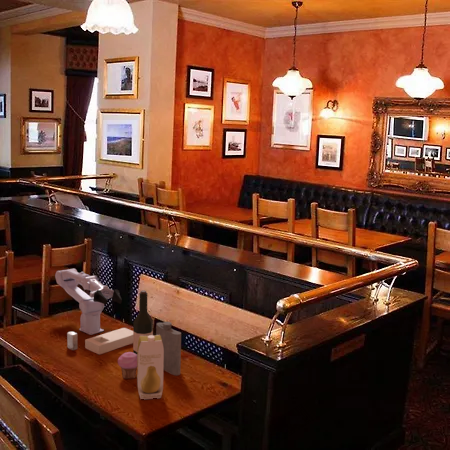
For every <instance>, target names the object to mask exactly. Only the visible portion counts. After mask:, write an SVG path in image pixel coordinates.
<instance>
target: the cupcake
mask: <svg viewBox="0 0 450 450" xmlns="http://www.w3.org/2000/svg"><path fill="white" fill-rule="evenodd" d="M117 365H118V366H119V367H120V369H121V375H122V378H123V379H127V380H128V379H135V378H137V354H135V353H133V351H128V352H127V351H126V352H124V353H122V354H121V355H120V356H119V357H118V359H117Z"/></svg>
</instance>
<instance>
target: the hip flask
mask: <svg viewBox="0 0 450 450" xmlns="http://www.w3.org/2000/svg"><path fill="white" fill-rule="evenodd" d="M155 325H156V326H155V327H156V328H155V329H156V330H155V332H156V333H155V335H160V336H161V339H162V341H163V348H164V362H163V371H164V372H166V373H169V374H170V375H173V376H180V375H181V359H182V356H181V353H182V352H181V351H182V332H181V331H177V330H175V329H173V328H172V325H173V324H172V322H171V321H163V322H156V324H155Z"/></svg>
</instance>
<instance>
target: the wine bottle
mask: <svg viewBox="0 0 450 450" xmlns="http://www.w3.org/2000/svg"><path fill="white" fill-rule="evenodd" d="M138 295H139V296H138V298H139V300H138V302H139V305H138V306H139V307H138V309H139V310H138V311H139V312H138V314H137V316H135V319H134V321H133V323H132V324H133V325H132V326H133V328H132V329H133V330H132V331H133V343H132V346H133V347H132V349H133V350H132V352H133V353H135V354H137V348H138V340H139V337H140V336H149V335H153V336H154V320H153V318H152V317H151V315H150V314H149V312H148V292H147V290H140V292H139V294H138Z"/></svg>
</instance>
